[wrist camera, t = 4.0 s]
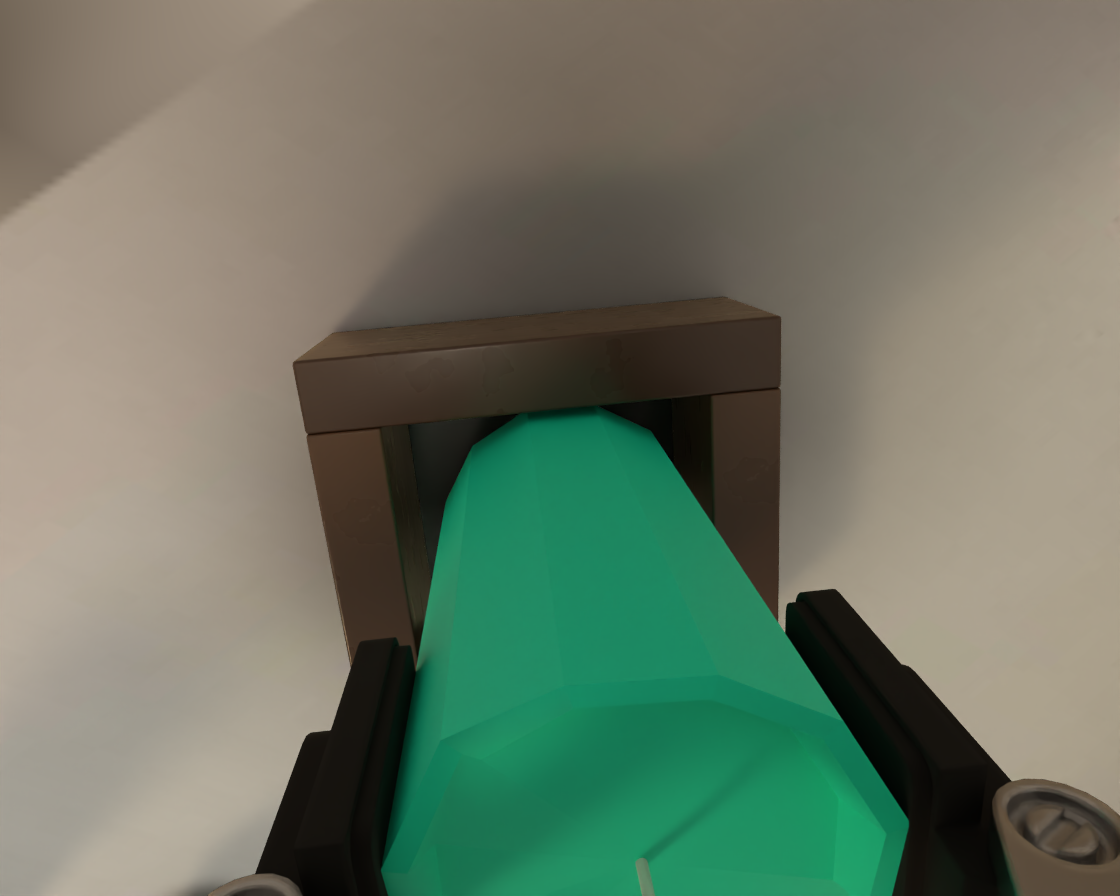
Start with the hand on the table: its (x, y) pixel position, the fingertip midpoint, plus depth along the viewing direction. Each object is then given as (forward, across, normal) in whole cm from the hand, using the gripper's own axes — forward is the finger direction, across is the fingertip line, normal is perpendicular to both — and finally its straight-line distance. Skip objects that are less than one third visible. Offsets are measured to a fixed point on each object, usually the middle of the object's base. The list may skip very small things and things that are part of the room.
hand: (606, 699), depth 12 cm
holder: (+10, 0, 0) cm, 10 cm away
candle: (+7, 0, 0) cm, 7 cm away
